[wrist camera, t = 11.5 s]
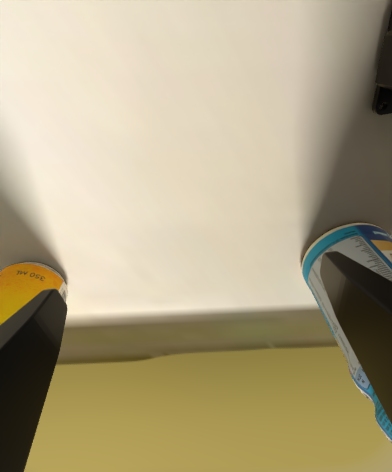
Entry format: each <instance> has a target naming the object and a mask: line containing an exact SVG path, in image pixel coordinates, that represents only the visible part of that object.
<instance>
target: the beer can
mask: <svg viewBox="0 0 392 472" xmlns="http://www.w3.org/2000/svg"><path fill="white" fill-rule="evenodd" d="M52 288H55V289H57V290H58V291H59V293H60V294H61V296H62V298H63V299H64V301H65V302H66V300H67V297H68V289H67V286H66V284H65V282H64V280H63V278H62V276H61V275H60V274H59V273H58V272H57V271H56V270H54V269H53V268H51V267H49V266H47V265H44V264H41V263H37V262H23V263H19V264H13V265H10V266H8V267H6V268H4V269H3V270H2V271H1V272H0V325H1V324H2V323H3V322H5V321H6V320H7V319H8V318H9V317H11V316H12V315H13V314H14V313H16V312H17V311H18V310H19V309H20V308H22V307H23V306H24V305H25V304H27V303H28V302H29V301H30V300H31V299H33V298H34V297H35V296H36V295H37V294H39V293H40V292H41V291H42V290H45V289H52Z"/></svg>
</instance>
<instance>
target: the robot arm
mask: <svg viewBox="0 0 392 472" xmlns="http://www.w3.org/2000/svg"><path fill="white" fill-rule="evenodd" d="M376 84H377V86H376V91H375V96H374V101H373V106H372V110H373V112H374V113H376V114H379V115H383V114H390V113H392V12H391V17H390V22H389V27H388V32H387V34H386V36H385V38H384V42H383V47H382V53H381V58H380V63H379V68H378V73H377V78H376ZM382 103H384V106H383V108H382V109H380V105H381V104H382ZM320 276H321V279H322V282H323V285H324V287H325V290H326V293H327V295H328V298H329V301H330V303H331V306H332V308H333V311H334V314H335V316H336V318H337V320H338V322H339V325H340V327H341V328H342V330H343V332H344V334H345V336H346V338H347V340H348V342H349V344H350V346H351V348H352V350H353V351H354V353H355V355H356V357H357V359H358V361H359V363H360V365H361V367H362V369H363V371H364V373H365V375H366V376H367V378H368V380H369V382H370V384H371V386H372V388H373V390H374V392H375V394H376V396H377V398H378V400H379V401H380V403H381V405H382V407H383V409H384V411H385V413H386V415H387V417H388V419H389V421H390V423H391V424H392V281H391V280H389V279H387V278H385V277H383V276H382V275H380V274H378V273H376V272H374V271H373V270H371V269H369V268H367V267H365V266H364V265H362V264H360V263H358V262H356V261H355V260H353V259H351V258H349V257H347V256H345V255H344V254H342V253H340V252H338V251H329V252H325V253H323V255H322V260H321V267H320ZM66 314H67V305H66V302H65V301H64V299H63V298H62V296H61V294H60V293H59V291H58V290H57V289H55V288H52V289H45V290H42V291H41V292H40V293H39V294H37V295H36V296H35V297H34V298H33V299H31V300H30V301H29V302H28V303H27V304H25V305H24V306H23V307H22V308H20V309H19V310H18V311H17V312H16V313H14V314H13V315H12V316H11V317H9V318H8V319H7V320H6V321H5V322H3V323H2V324H1V325H0V472H24V469H25V466H26V462H27V459H28V456H29V452H30V449H31V446H32V442H33V439H34V436H35V432H36V429H37V425H38V422H39V419H40V416H41V412H42V409H43V406H44V402H45V399H46V395H47V392H48V389H49V386H50V382H51V379H52V375H53V372H54V368H55V365H56V362H57V359H58V355H59V351H60V347H61V341H62V336H63V331H64V325H65V320H66Z"/></svg>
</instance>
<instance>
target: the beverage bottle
mask: <svg viewBox="0 0 392 472" xmlns="http://www.w3.org/2000/svg"><path fill="white" fill-rule="evenodd" d="M329 251H338V252H340V253H342V254H344V255H345V256H347V257H349V258H351V259H353V260H355V261H356V262H358V263H360V264H362V265H364V266H365V267H367V268H369V269H371V270H373V271H374V272H376V273H378V274H380V275H382V276H383V277H385V278H387V279H389V280H391V281H392V236H391V235H390V234H389V233H388V232H386V231H385V230H384V229H382V228H380V227H378V226H376V225H373V224H368V223H352V224H347V225H343V226H340V227H337V228H335V229H332V230H330V231H328V232H327V233H325V234H324V235H322V236H321V237H319V238H318V239H317V240H316V241H315V242H314V243H313V244H312V245H311V246H310V247H309V249H308V250H307V252H306V254H305V256H304V258H303V262H302V274H303V277H304V279H305V281H306V283H307V285H308V287H309V288H310V290H311V291H312V293H313V295H314V297H315V299H316V301H317V303H318V305H319V307H320V309H321V311H322V313H323V315H324V317H325V319H326V321H327V323H328V325H329V327H330V329H331V331H332V333H333V335H334V337H335V339H336V341H337V343H338V345H339V347H340V349H341V351H342V353H343V355H344V357H345V359H346V361H347V363H348V367H349V371H350V374H351V376H352V379H353V381H354V382H355V384H356V386H357V387H358V389H359V390H360V391H361V392H362V394H364V396H366V397H367V398H368V399H369V400H370V401H372V402H373V403H374V405H375V417H376V421H377V423H378V425H379V427H380V429H381V430H382V432H383V433H384V434H385V436H386V437H387V438H388V439H389V440H390V442H391V443H392V424H391V423H390V421H389V419H388V417H387V415H386V413H385V411H384V409H383V407H382V405H381V403H380V401H379V400H378V398H377V396H376V394H375V392H374V390H373V388H372V386H371V384H370V382H369V380H368V378H367V376H366V375H365V373H364V371H363V369H362V367H361V365H360V363H359V361H358V359H357V357H356V355H355V353H354V351H353V350H352V348H351V346H350V344H349V342H348V340H347V338H346V336H345V334H344V332H343V330H342V328H341V327H340V325H339V322H338V320H337V318H336V316H335V314H334V311H333V308H332V306H331V303H330V301H329V298H328V295H327V293H326V290H325V287H324V285H323V282H322V279H321V276H320V267H321V260H322V255H323V253H325V252H329Z"/></svg>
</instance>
